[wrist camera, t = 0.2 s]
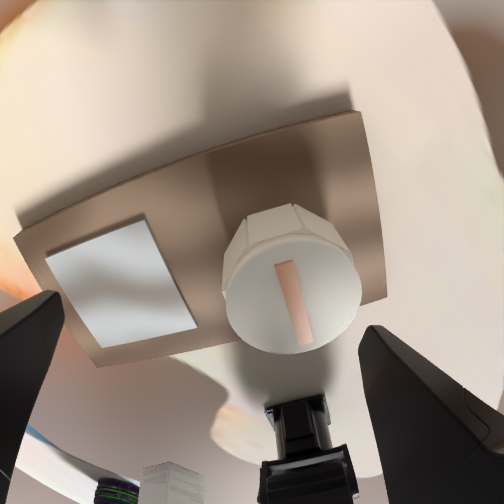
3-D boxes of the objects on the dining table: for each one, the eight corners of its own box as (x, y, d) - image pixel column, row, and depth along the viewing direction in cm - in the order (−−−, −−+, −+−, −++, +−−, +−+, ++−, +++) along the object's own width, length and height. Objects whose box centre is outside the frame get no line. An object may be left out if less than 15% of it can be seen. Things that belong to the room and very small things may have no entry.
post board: (380, 286, 25) (416, 344, 18) (101, 356, 27) (80, 413, 21) (352, 110, 18) (404, 120, 12) (22, 230, 21) (-28, 274, 15)
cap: (344, 288, 20) (367, 335, 16) (247, 315, 21) (249, 368, 17) (326, 193, 17) (353, 226, 13) (211, 226, 18) (204, 269, 14)
